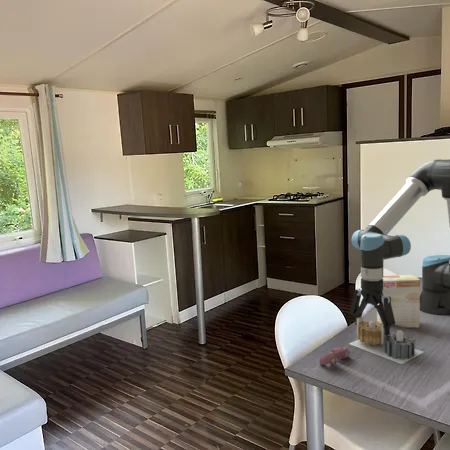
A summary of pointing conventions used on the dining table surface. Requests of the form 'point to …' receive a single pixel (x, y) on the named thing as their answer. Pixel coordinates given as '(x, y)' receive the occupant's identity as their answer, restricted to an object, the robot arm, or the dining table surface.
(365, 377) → the dining table surface
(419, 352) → the gear board
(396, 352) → the gear
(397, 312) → the coffeecake box
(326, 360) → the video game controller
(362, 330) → the wooden gear
